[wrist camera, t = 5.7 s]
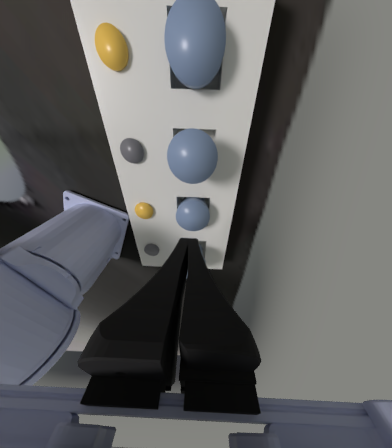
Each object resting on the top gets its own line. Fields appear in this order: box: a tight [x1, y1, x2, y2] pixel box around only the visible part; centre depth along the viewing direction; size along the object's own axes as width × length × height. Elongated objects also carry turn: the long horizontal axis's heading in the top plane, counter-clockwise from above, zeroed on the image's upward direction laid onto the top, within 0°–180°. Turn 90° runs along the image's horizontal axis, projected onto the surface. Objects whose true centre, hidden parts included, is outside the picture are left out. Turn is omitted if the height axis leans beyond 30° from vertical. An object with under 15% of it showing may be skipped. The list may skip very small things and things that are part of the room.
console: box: [70, 0, 275, 269], centre depth 15 cm, size 25×12×3 cm, turn 178°
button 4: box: [164, 0, 226, 89], centre depth 10 cm, size 4×4×3 cm
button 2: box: [176, 197, 210, 231], centre depth 16 cm, size 4×4×3 cm
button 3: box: [167, 128, 218, 184], centre depth 11 cm, size 4×4×3 cm
